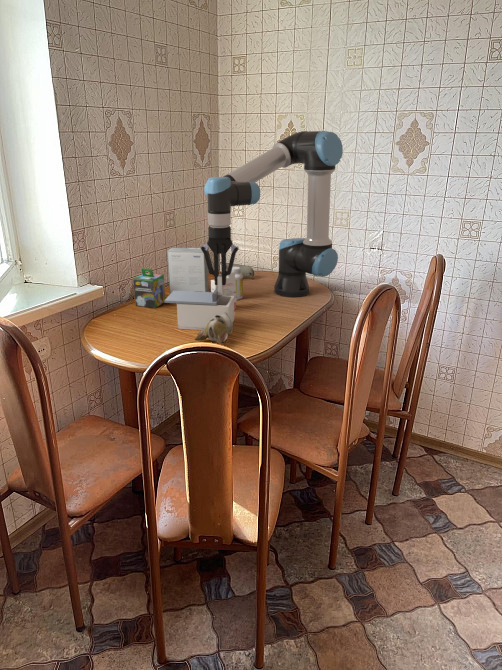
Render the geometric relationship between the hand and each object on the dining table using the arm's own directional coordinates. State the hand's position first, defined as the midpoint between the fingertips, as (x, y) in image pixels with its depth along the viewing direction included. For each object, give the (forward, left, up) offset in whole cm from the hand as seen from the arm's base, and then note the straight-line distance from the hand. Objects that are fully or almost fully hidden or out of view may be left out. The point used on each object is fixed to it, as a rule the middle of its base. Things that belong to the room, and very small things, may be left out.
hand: (220, 293), depth 177 cm
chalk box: (+32, -20, -12) cm, 39 cm away
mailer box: (+5, 0, -12) cm, 13 cm away
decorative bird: (+4, -64, -12) cm, 65 cm away
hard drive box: (+19, -32, -12) cm, 39 cm away
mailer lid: (+9, 0, -2) cm, 10 cm away
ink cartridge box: (+2, -18, -12) cm, 21 cm away
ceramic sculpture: (-1, +14, -12) cm, 18 cm away
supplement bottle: (0, -33, -12) cm, 35 cm away
